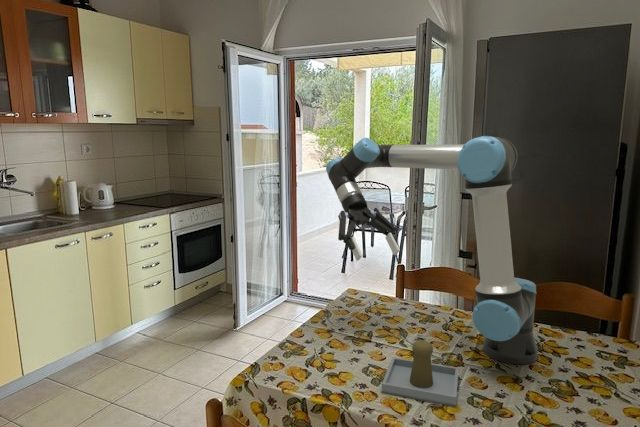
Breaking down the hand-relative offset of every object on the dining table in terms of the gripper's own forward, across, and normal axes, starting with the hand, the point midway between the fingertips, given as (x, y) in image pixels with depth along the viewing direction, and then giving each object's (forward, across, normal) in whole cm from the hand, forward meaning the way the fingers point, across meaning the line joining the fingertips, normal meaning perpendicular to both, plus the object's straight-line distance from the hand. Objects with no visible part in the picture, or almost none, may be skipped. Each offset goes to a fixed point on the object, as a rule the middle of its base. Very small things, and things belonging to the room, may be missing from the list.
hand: (378, 255), depth 130 cm
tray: (+36, +1, -6) cm, 37 cm away
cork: (+36, +1, -5) cm, 36 cm away
